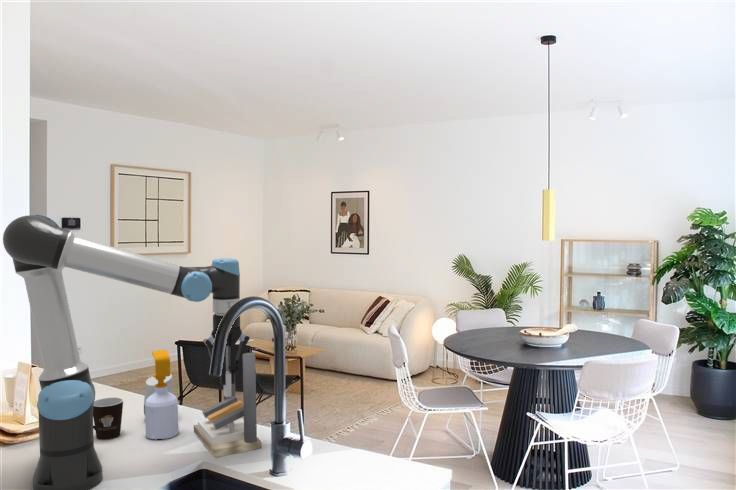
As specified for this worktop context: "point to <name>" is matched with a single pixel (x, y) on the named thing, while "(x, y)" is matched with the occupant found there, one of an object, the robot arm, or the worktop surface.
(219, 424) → the bar
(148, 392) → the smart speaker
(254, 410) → the posts
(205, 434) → the block
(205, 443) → the board
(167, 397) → the soap bottle
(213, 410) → the back paddle
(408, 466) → the worktop surface
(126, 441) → the worktop surface
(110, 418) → the coffee mug
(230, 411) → the middle paddle
